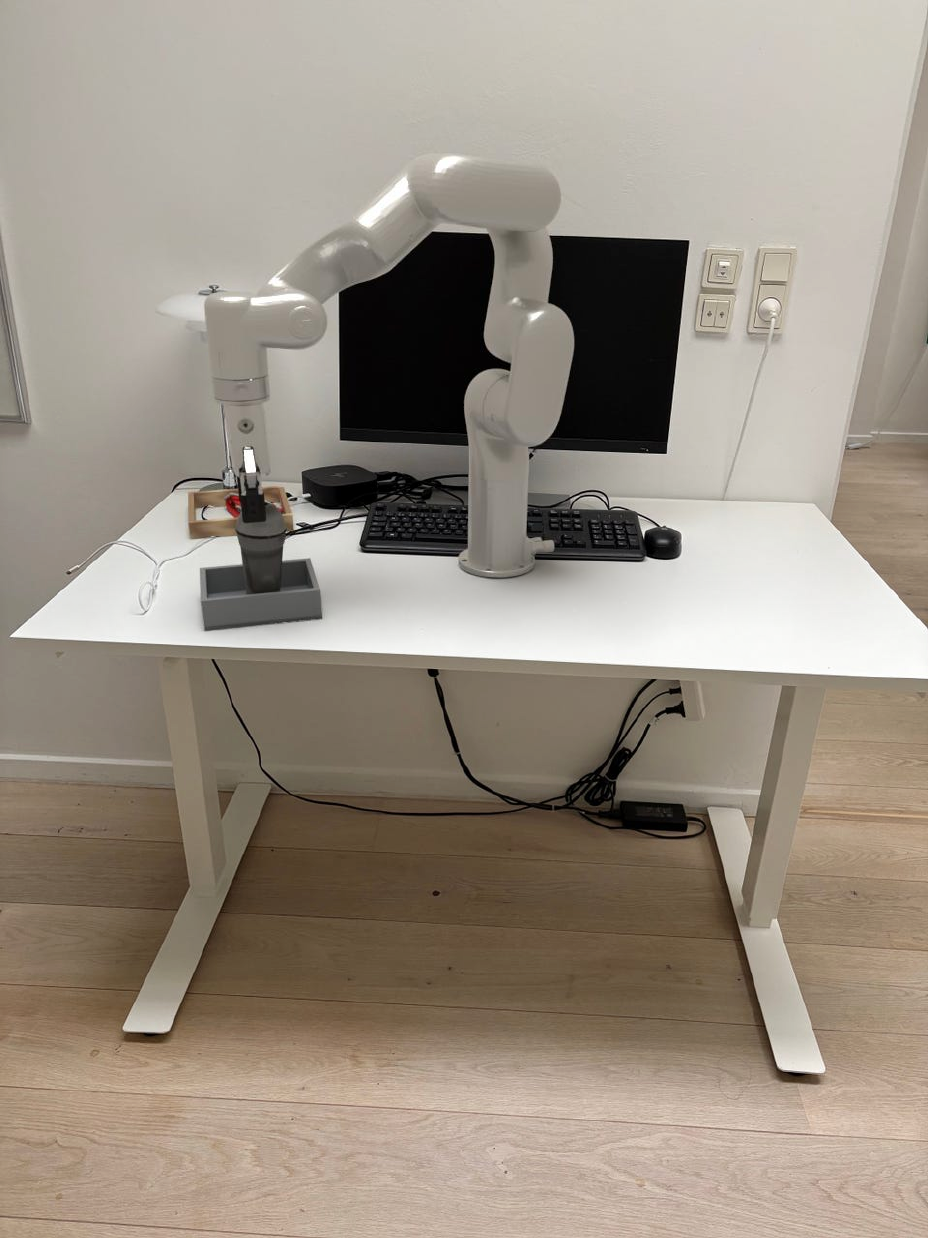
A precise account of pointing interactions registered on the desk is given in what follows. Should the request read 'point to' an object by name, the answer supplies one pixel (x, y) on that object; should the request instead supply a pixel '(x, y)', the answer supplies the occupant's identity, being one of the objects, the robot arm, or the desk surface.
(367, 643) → the desk surface
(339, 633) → the desk surface
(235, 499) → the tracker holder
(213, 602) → the charcoal tray
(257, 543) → the beverage cup
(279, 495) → the oak organiser frame
